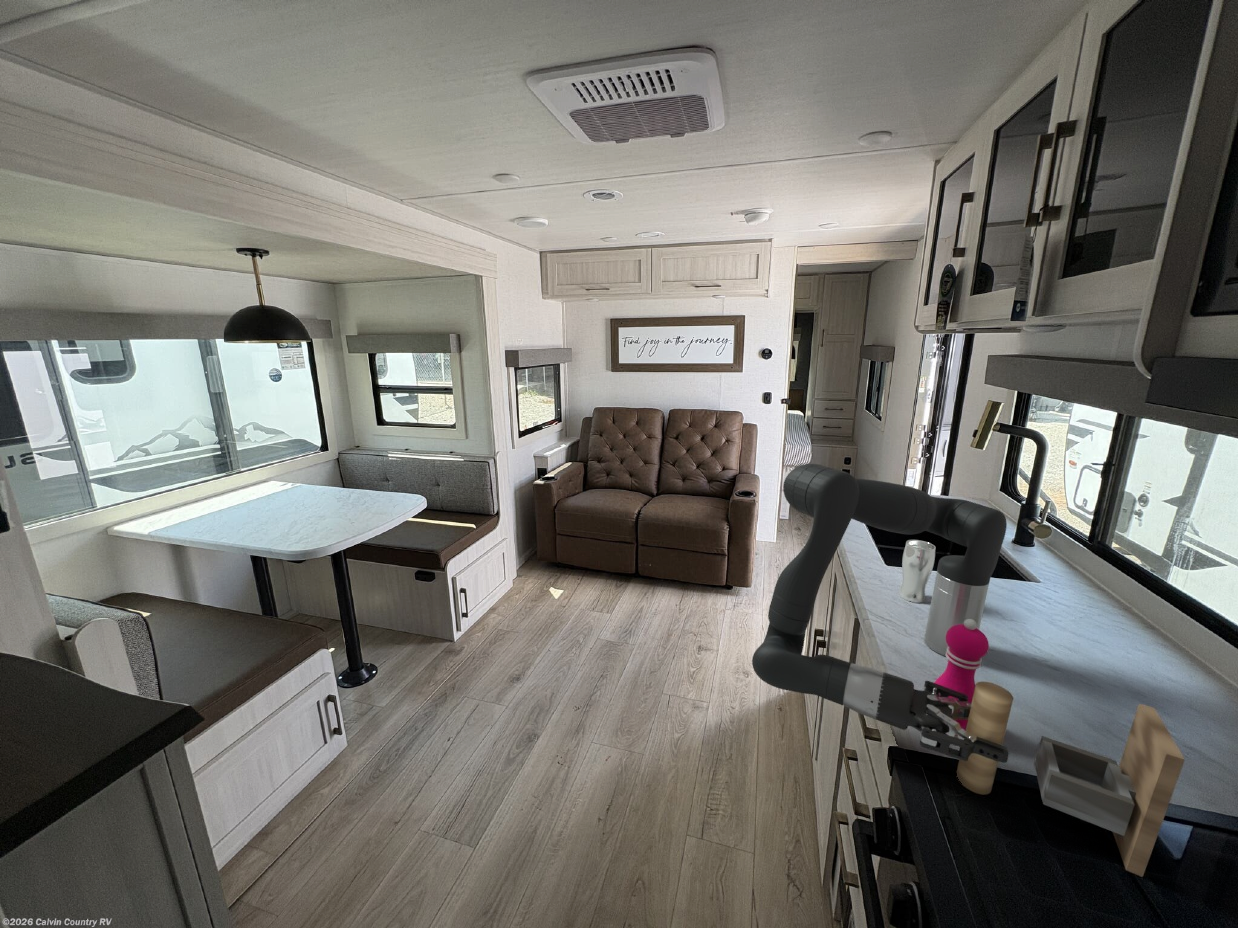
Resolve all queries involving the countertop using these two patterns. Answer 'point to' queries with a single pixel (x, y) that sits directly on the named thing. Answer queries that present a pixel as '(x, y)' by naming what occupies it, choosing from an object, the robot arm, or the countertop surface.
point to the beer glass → (916, 569)
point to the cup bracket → (1116, 785)
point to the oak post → (985, 734)
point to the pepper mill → (963, 660)
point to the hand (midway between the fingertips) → (1004, 739)
